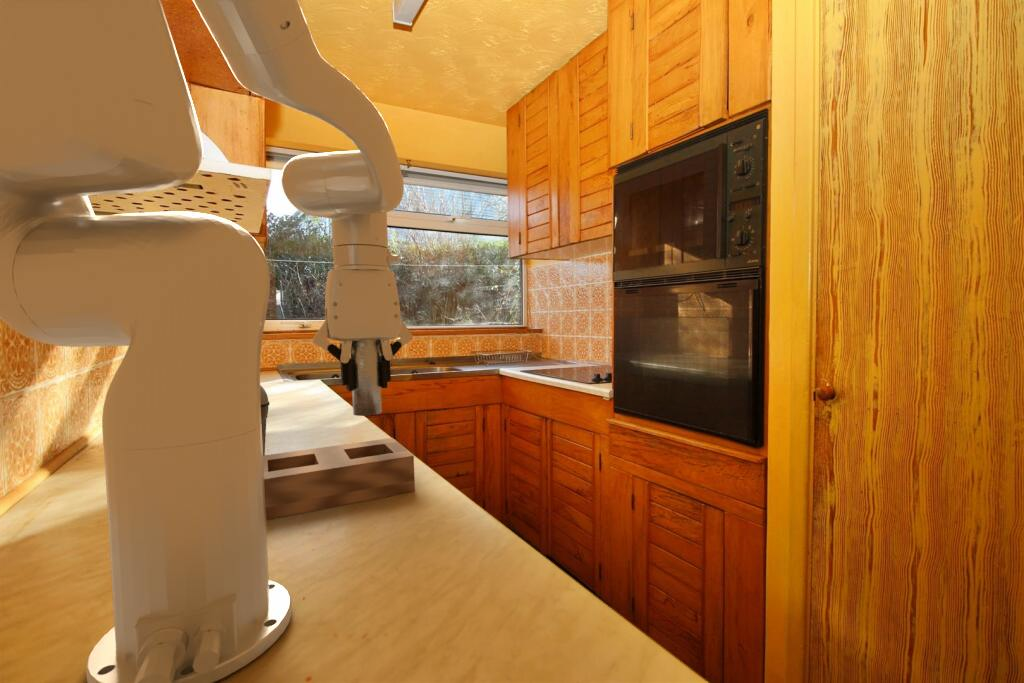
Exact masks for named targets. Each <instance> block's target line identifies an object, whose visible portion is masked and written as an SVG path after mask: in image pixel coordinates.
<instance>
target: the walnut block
mask: <svg viewBox="0 0 1024 683" xmlns="http://www.w3.org/2000/svg"><path fill="white" fill-rule="evenodd" d="M263 465H264V487H265V509H266V521H268V520H272V519H278V518H283V517H287V516H293V515H298V514H304V513H309V512H314V511H318V510H325V509H329V508H334V507H339V506H344V505H351V504H354V503H362V502H364V501H370V500H375V499H376V500H377V499H381V498H386V497H391V496H396V495H402V494H406V493H412V492H415V491H416V485H415V482H416V481H415V458H414V455H413V453H411V452H410V451H409V450H407V449H406V447H404V446H403V445H402V444H401V443H399V441H397V440H396V439H394V438H393V437H389V438H383V439H382V438H381V439H375V440H367V441H360V442H353V443H346V444H345V443H344V444H338V445H330V446H323V447H316V448H309V449H308V448H307V449H301V450H295V451H286V452H281V453H279V452H278V453H272V454H267V455H266V454H265V455H264V456H263Z"/></svg>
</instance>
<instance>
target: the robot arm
mask: <svg viewBox="0 0 1024 683" xmlns="http://www.w3.org/2000/svg"><path fill="white" fill-rule="evenodd" d="M192 1H193V3H194V5H195V7H196V9H197V11H198V12H199V14H200V17H201V19H202V20H203V22H204V24H205V26H206V27H207V29H208V31H209V33H210V34H211V36H212V38H213V39H214V41H215V43H216V44H217V47H218V49H219V50H220V52H221V54H222V56H223V57H224V60H225V61H226V63H227V65H228V67H229V69H230V70H231V72H232V74H233V76H234V78H235V79H236V80H237V82H238V84H240V85H241V86H242V87H243V88H245V89H246V90H248V91H249V92H251V93H253V94H255V95H257V96H260V97H262V98H265V99H267V100H270V101H273V102H274V103H277V104H280V105H282V106H285V107H288V108H290V109H293V110H296V111H298V112H301V113H304V114H305V115H306V114H307V115H309V116H312V117H314V118H317V119H318V120H321V121H322V122H325V123H326V124H328V125H331V126H332V127H333V128H335V129H337V130H338V131H339V132H340V133H342V134H343V135H345V136H346V137H347V138H348V139H349V140H350V141H352V142H351V143H353V144H354V145H355V146H356V148H357V150H346V151H345V150H344V151H331V152H318V153H304V154H300V155H296V156H294V157H292V158H291V159H290V160H288V161H287V162H286V164H284V166H283V169H282V172H281V186H282V189H283V192H284V195H285V196H286V198H287V199H288V201H289V202H290V204H291V205H292V206H293V207H295V208H296V209H297V210H299V211H300V212H302V214H306V215H309V216H311V217H318V218H319V217H320V218H325V219H331V231H332V232H331V234H332V250H333V251H332V253H333V255H332V256H333V257H332V258H333V269H330V270H328V271H327V276H326V284H325V294H324V295H325V298H324V299H325V300H324V301H325V302H324V321H323V323H322V324H321V326H320V328H319V329H318V331H317V332H316V334H315V335H314V337H313V339H312V343H313V344H314V345H316V346H317V347H319V348H320V349H323V350H325V351H327V352H328V353H329V354H330V355H331V356H333V357H334V358H335V359H336V360H338V361H339V362H340V377H341V378H340V379H341V380H340V382H341V385H342V386H345V389H346V390H347V392H352V391H353V390H354V389H355V388H354V365H353V363H351V346H352V341H358V340H360V339H364V338H373V339H375V340H379V351H380V376H381V389H382V388H383V389H387V388H388V382H391V380H392V379H391V378H392V377H391V375H392V373H391V360H392V359H393V357H394V356H395V355H396V354H397V353H398V352H399V351H400V349H402V347H404V346H405V345H407V344H409V343H410V342H411V341H412V340H413V338H414V336H413V334H412V333H411V331H410V330H409V328H408V327H407V326H406V324H405V323H404V322H403V320H402V314H401V307H400V306H401V305H400V299H399V293H398V292H399V291H398V287H397V286H398V285H397V281H396V278H395V273H394V271H392V270H390V267H391V266H392V265H398V264H399V256H398V254H393V253H391V251H390V249H389V239H388V238H389V237H388V235H389V234H388V213H390V212H391V211H394V210H395V209H397V207H398V206H399V205H400V204H401V202H402V200H403V197H404V188H405V187H404V179H403V178H404V176H403V173H402V167H401V166H400V165H401V164H400V161H399V158H398V157H399V156H398V155H397V151H396V149H395V145H394V143H393V140H392V136H391V133H390V130H389V127H388V125H387V123H386V121H385V119H384V117H383V116H382V114H381V112H380V111H379V110H378V109H377V107H376V106H375V104H374V103H373V102H372V101H371V100H370V99H369V98H368V96H367V95H366V94H365V93H364V92H363V90H361V89H360V88H359V87H358V86H357V85H356V84H355V83H354V82H353V81H352V80H350V79H349V78H348V76H346V75H345V74H343V73H342V72H341V71H340V70H339V69H337V68H336V67H334V66H333V65H331V63H329V62H328V61H327V60H326V59H325V58H324V57H323V55H321V53H320V52H319V49H318V48H317V46H316V43H315V41H314V39H313V35H312V33H311V30H310V27H309V25H308V22H307V20H306V17H305V14H304V12H303V9H302V7H301V5H300V2H299V0H192ZM187 83H188V82H187V81H186V77H185V74H184V71H183V68H182V65H181V62H180V59H179V55H178V52H177V49H176V45H175V42H174V39H173V35H172V33H171V29H170V27H169V23H168V20H167V16H166V14H165V10H164V8H163V5H162V1H161V0H0V320H1V321H2V322H3V323H5V324H6V326H8V327H9V328H11V329H12V330H14V331H15V332H17V333H19V335H22V336H24V337H26V338H28V339H30V340H33V341H36V342H38V343H42V344H46V345H50V346H55V347H57V346H59V347H71V348H73V347H74V348H75V347H76V348H77V347H78V348H79V347H81V348H82V347H84V348H88V347H126V346H128V348H127V351H126V353H125V354H124V356H123V359H122V360H121V362H120V364H119V366H118V368H117V369H116V371H115V373H114V375H113V378H112V379H111V382H110V384H109V386H108V389H107V392H106V394H105V398H104V403H103V408H102V417H101V418H102V419H101V420H102V423H101V424H102V426H101V427H102V442H103V443H102V445H103V453H104V454H103V455H104V471H105V486H106V501H107V502H106V507H107V520H108V522H107V523H108V536H109V537H108V540H109V556H110V558H109V559H110V572H111V587H112V588H111V589H112V605H113V607H112V608H113V620H114V621H113V622H114V627H112V628H111V629H110V630H109V631H107V632H106V633H105V634H104V635H103V636H102V637H101V638H100V639H99V641H97V643H95V645H94V646H93V647H92V650H91V651H90V653H89V655H88V656H87V658H86V664H85V675H86V682H87V683H216V682H218V681H219V680H222V679H224V678H227V677H228V676H230V675H231V674H233V673H235V672H237V671H239V670H240V669H242V668H243V667H245V666H247V665H248V664H250V663H251V662H253V661H254V660H256V659H257V658H259V657H260V656H262V654H263V653H265V651H267V650H268V649H270V648H271V646H273V645H274V644H275V642H277V640H278V639H279V638H280V637H281V635H283V633H284V632H285V630H286V628H287V627H288V625H289V623H290V621H291V616H292V614H293V613H292V598H291V594H290V592H289V591H288V589H287V588H286V587H285V586H283V585H281V584H280V583H278V582H276V581H274V580H273V581H272V580H270V579H269V575H270V574H269V558H268V537H267V536H268V534H267V520H266V509H265V487H264V465H263V443H262V424H261V404H260V385H261V357H262V355H261V354H262V342H263V338H264V337H263V336H264V335H263V334H264V328H265V322H266V318H267V310H268V306H269V299H270V291H271V290H270V287H271V285H270V284H271V282H270V281H271V278H270V277H271V276H270V275H271V274H270V269H269V264H268V259H267V257H266V256H265V253H264V250H263V249H262V247H261V246H260V244H259V243H258V241H257V240H256V239H255V238H254V236H252V234H251V233H249V232H248V231H247V230H246V229H245V228H243V227H242V226H240V225H238V224H236V223H234V222H233V221H231V220H228V219H226V218H223V217H219V216H218V215H213V214H209V213H202V212H194V211H178V210H175V211H154V212H153V211H151V212H130V213H129V212H128V213H126V212H125V213H115V214H114V213H113V214H109V215H108V214H106V215H96V214H95V212H94V209H93V207H92V204H91V202H90V198H89V196H107V195H108V196H110V195H122V194H123V195H124V194H136V193H137V194H138V193H139V194H141V193H148V192H157V191H163V190H169V189H172V188H176V187H179V186H181V185H184V184H186V183H188V182H190V180H191V179H193V178H194V177H195V176H196V175H197V174H198V172H199V170H200V169H201V166H202V164H203V159H204V146H203V139H202V138H203V137H202V133H201V128H200V124H199V120H198V116H197V114H196V109H195V106H194V103H193V100H192V96H191V92H190V90H189V86H188V84H187ZM327 338H328V339H331V340H335V341H339V346H338V345H336V344H334V343H332V342H330V341H329V340H327ZM391 339H395V340H394V341H392V342H390V340H391Z"/></svg>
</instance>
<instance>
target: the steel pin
mask: <svg viewBox="0 0 1024 683" xmlns="http://www.w3.org/2000/svg"><path fill="white" fill-rule="evenodd" d="M350 358H351V363H353V365H354V388H355V389H354V390H353V391H351V394H352V395H351V396H352V414H353V415H354V416H357V417H358V416H359V417H360V416H361V417H362V416H363V417H367V416H374V415H378V414H379V415H380V414H382V412H383V410H382V408H383V407H382V387H381V376H380V351H379V340H375V339H373V338H364V339H360V340H358V341H352V346H351V352H350Z"/></svg>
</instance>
